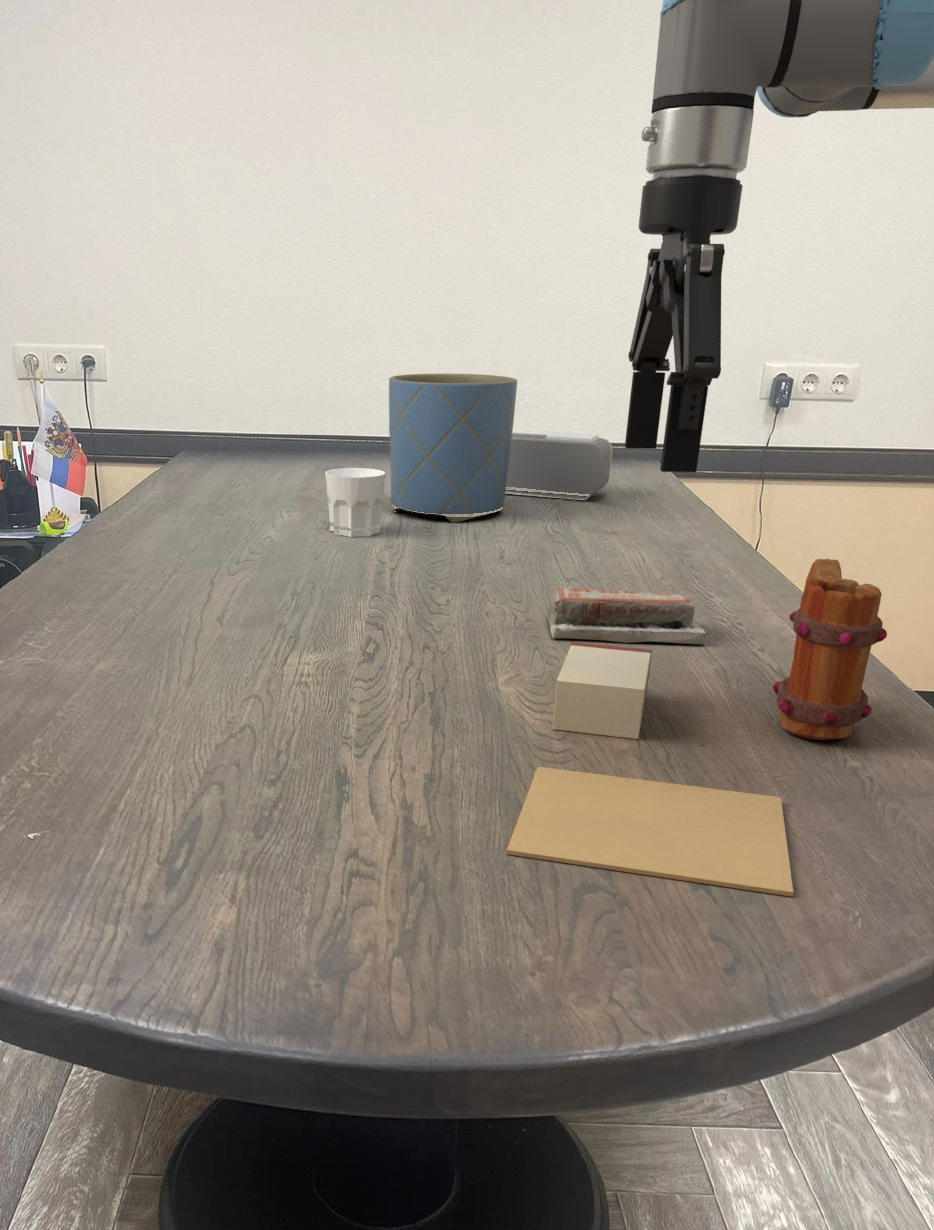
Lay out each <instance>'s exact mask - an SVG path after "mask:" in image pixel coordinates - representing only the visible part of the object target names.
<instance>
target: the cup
mask: <svg viewBox="0 0 934 1230" xmlns="http://www.w3.org/2000/svg"><path fill="white" fill-rule="evenodd" d="M324 473H325V483H326V495H327V504H328V505H327V506H328V507H327V508H328V521H329V523H330V522H332V523H334V526H341V527H347V528H350V529H353V528H371V527H372V526H375V525H380V527H379V528H374V529H371V531H366V530H364V531H352V532H351V531H347V530H340V529H334V527H333V526H330V525H329V531H330V530H331V531H334V532H333V533H334V536H341V535H343V536H342V537H348V538H357V537H371V536H373V535H376V534H381V523H382V512H383V511H382V510H383V500H384V492H385V491H384V489H385V481H386V480H385V479H386V471H384V470H381V469H376V468H367V467H344V468H343V467H342V468H334V469H329V470H326V471H325V472H324ZM331 531H330V532H331Z"/></svg>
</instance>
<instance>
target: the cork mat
mask: <svg viewBox="0 0 934 1230" xmlns="http://www.w3.org/2000/svg"><path fill="white" fill-rule="evenodd" d="M506 855H509V856H515V857H522V858H530V859H537V860H542V861H549V862H556V863H562V864H570V865H575V866H583V867H590V868H596V869H603V870H610V871H616V872H622V873H629V874H630V873H632V874H637V875H643V876H650V877H657V878H664V879H671V880H678V881H683V882H690V883H697V884H702V885H703V884H704V885H709V886H717V887H722V888H723V887H724V888H729V889H730V888H731V889H738V890H745V891H751V892H758V893H764V894H772V895H777V896H784V897H791V898H792V897H794V887H793V885H794V884H793V878H792V870H791V863H790V855H789V847H788V839H787V832H786V824H785V817H784V809H783V801H782V797H781V796H774V795H765V794H759V793H751V792H750V793H749V792H742V791H734V790H726V789H719V788H710V787H703V786H695V785H687V784H678V783H672V782H662V781H656V780H655V781H654V780H648V779H639V778H632V777H624V776H616V775H609V774H599V773H591V772H584V771H576V770H567V769H560V768H553V767H544V766H537V767H536V770H535V773H534V776H533V778H532V781H531V783H530V786H529V788H528V792H527V794H526V797H525V799H524V803H523V805H522V808H521V811H520V813H519V816H518V819H517V821H516V824H515V827H514V830H513V832H512V835H511V837H510V841H509V843H508V846H507V848H506Z"/></svg>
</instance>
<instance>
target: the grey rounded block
mask: <svg viewBox="0 0 934 1230" xmlns="http://www.w3.org/2000/svg"><path fill="white" fill-rule="evenodd" d="M612 456H613V446H612V443H611V442H610V441H609V440H608V439H607V438H604V437H599V435H598V434H591V433H590V434H588V433H574V432H573V433H570V432H555V431H554V432H551V433H549V434H546V433H545V434H544V433H529V432H528V433H527V432H521V433H520V432H513V431H512V439H511V447H510V455H509V464H508V473H507V482H506V487H516V488H527V489H536V490H546V491H555V492H565V493H567V492H568V493H579V494H590V495H591V494H593V495H594V494H596V493H598V492H599V491H600V490H602V489H603V488H604V487H606V485H607V484H608V483H609V480H610V478H611V477H610V476H611V467H612V459H613V457H612ZM505 492H511V493H521V494H532V495H543V496H551V497H559V498H572V499H584V500H585V499H586V498H587V497H588V496H578V495H566V494H553V493H541V492H528V491H516V490H506V491H505ZM590 495H589V496H590ZM585 501H586V500H585Z"/></svg>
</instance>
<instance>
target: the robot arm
mask: <svg viewBox="0 0 934 1230" xmlns="http://www.w3.org/2000/svg"><path fill="white" fill-rule="evenodd" d="M659 13H660V16H659V17H660V18H659V30H658V41H657V51H656V62H655V71H654V83H653V92H652V100H651V101H652V103H651V118H650V126H646V127H644V128H643V129H642V131H641V140H642V141H643V142H647V143H649V144H648V147H647V153H646V159H645V160H646V162H645V171H646V173H648V174H649V175H652V178H651V179H650V180H646V182H645V185H643V186H642V190H641V191H642V192H641V201H640V209H639V218H638V229H639V231H640V232H641V233H642V234H645V235H652V236H653V235H655V236H658V235H660V236H662V242H661V246H660V248H650V250H649V252H648V253H647V265H646V273H645V279H644V284H643V289H642V292H641V297H640V300H639V301H640V302H639V307H638V310H637V315H636V321H635V325H634V330H633V334H632V339H631V342H630V349H629V351H628V354H627V355H628V360H629V362H631V367H632V371H633V372H632V378H631V386H630V387H631V388H630V397H629V406H628V414H627V422H626V432H625V440H624V448H625V449H643V450H644V449H645V450H646V449H651V450H653V449H657V443H658V435H659V427H660V421H661V412H662V403H663V395H664V388H665V379H666V372H670V374H669V375H668V376H667V377H668V378H667V380H666V386H670V390H669V396H668V397H669V398H668V405H667V412H666V422H665V428H664V436H663V443H662V450H661V451H662V453H661V461H660V468H659V470H660V471H661V472H662V473H665V472H666V473H697V470H698V463H699V455H700V448H701V442H702V441H701V440H702V434H703V428H704V420H705V413H706V406H707V399H708V392H709V386H711V383H712V382H713V379H714V380H716V379H718V378H719V377H720V376H721V372H722V363H721V362H722V274H723V267H724V266H723V265H724V258H725V254H726V253H725V252H726V249H725V245H724V243H711V237H712V236H717V235H718V236H721V235H729V234H732V233H733V232H734V231H735V230H736V229H737V226H738V220H739V214H740V207H741V199H742V192H743V184H741V180H740V179H738V178H737V176H738V174H739V173H742V172H743V171H745V169H746V168H747V163H748V157H749V149H750V142H751V134H752V128H753V121H754V113H755V110H754V107H755V98H756V93H757V96H758V98H759V99H760V101H761V103H762V104H763V106H764V107H765V108H766V109H767V110H768V111H770V112H771V113H772V114H774V115H776V116H779V117H782V118H789V119H790V118H792V119H793V118H805V117H809V116H811V115H813V114H816V113H818V112H843V111H844V112H845V111H848V112H850V111H860V110H861V111H862V110H897V109H901V110H902V109H934V0H663V1H662V7H661V12H659ZM672 340H673V352H674V353H673V354H674V355H673V357H674V368H675V371H670V370H671V365H670V359H669V358H667V354H668V351H669V348H670V346H671V343H672Z"/></svg>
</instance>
